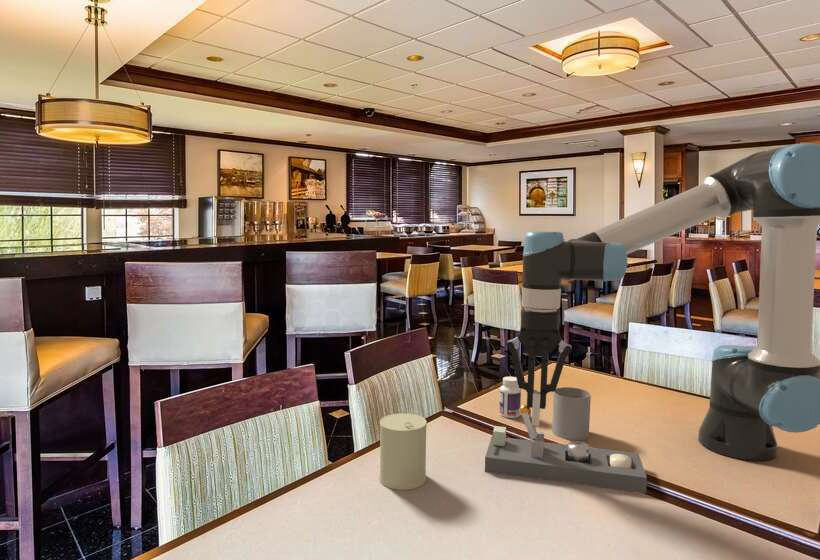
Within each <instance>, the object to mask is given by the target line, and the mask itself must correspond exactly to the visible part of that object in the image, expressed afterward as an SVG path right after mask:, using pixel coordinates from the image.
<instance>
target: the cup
mask: <svg viewBox="0 0 820 560" xmlns="http://www.w3.org/2000/svg"><path fill="white" fill-rule="evenodd" d="M591 399H592V395H591V393H590V392H589V391H588V390H587V389H586V390H585V389H583V388H578V387H570V386H569V387H568V386H567V387H566V386H565V387H557V388H556V390H555V391H554V392H553V400H552V402H553V405H552V427H551V431H552V434H553V435H554V436H555V437H558V438H560V439H563V440H569V441H583V440H586V439H588V438H589V436H590V423H591V422H590V420H591V401H592V400H591Z"/></svg>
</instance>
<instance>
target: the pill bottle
mask: <svg viewBox="0 0 820 560" xmlns="http://www.w3.org/2000/svg"><path fill="white" fill-rule="evenodd" d="M499 387H500V388H499V411H498V412H499V416H501V417H503V418H506V419H507V418H508V419H515V418H516V419H517V418H519V417H520V416H521V414H520V412H519V408H520V407H521V406H522V405H521V397H522V396H521V395H522V390H521V389H520V388H519V387H518V382H517V377H515V376H504V377H502V385H501V386H499Z"/></svg>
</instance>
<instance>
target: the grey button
mask: <svg viewBox="0 0 820 560" xmlns="http://www.w3.org/2000/svg"><path fill="white" fill-rule="evenodd" d="M567 445H568V461H572V462H580V463H588V461H589V447H590V445H589V444H588V443H586V442H583V441H581V440H570V441H569V442H568V444H567Z"/></svg>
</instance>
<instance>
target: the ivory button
mask: <svg viewBox="0 0 820 560" xmlns="http://www.w3.org/2000/svg"><path fill="white" fill-rule="evenodd" d="M631 465H632V459H631V458H630V457H628V456H626V455H623V454H612V455H610V466H612V467H620V468H628V469H631Z"/></svg>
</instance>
